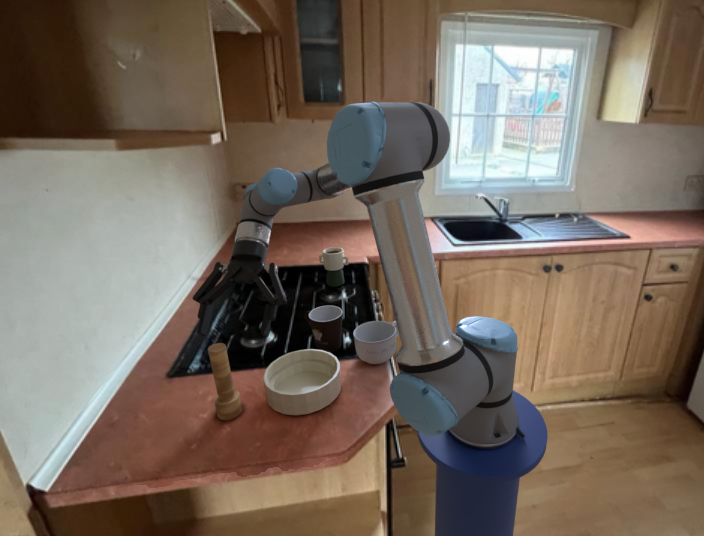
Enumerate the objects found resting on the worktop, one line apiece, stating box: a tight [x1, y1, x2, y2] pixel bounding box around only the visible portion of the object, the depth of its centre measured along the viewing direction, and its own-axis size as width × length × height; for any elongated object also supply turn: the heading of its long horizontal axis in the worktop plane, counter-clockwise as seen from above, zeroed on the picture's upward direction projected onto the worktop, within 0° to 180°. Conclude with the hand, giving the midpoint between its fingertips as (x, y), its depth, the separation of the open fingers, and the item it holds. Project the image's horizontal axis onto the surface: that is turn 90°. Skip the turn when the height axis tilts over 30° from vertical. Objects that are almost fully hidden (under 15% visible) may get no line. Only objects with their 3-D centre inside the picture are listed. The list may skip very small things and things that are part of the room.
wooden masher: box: [207, 342, 243, 421], centre depth 84 cm, size 5×5×16 cm
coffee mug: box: [304, 305, 343, 354], centre depth 109 cm, size 12×9×10 cm
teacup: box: [352, 320, 400, 365], centre depth 104 cm, size 14×11×8 cm
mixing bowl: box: [262, 348, 342, 416], centre depth 91 cm, size 16×16×6 cm
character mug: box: [318, 246, 349, 288], centre depth 144 cm, size 11×7×13 cm, turn 77°
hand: (233, 334), depth 88 cm, fingers open, 13 cm apart
